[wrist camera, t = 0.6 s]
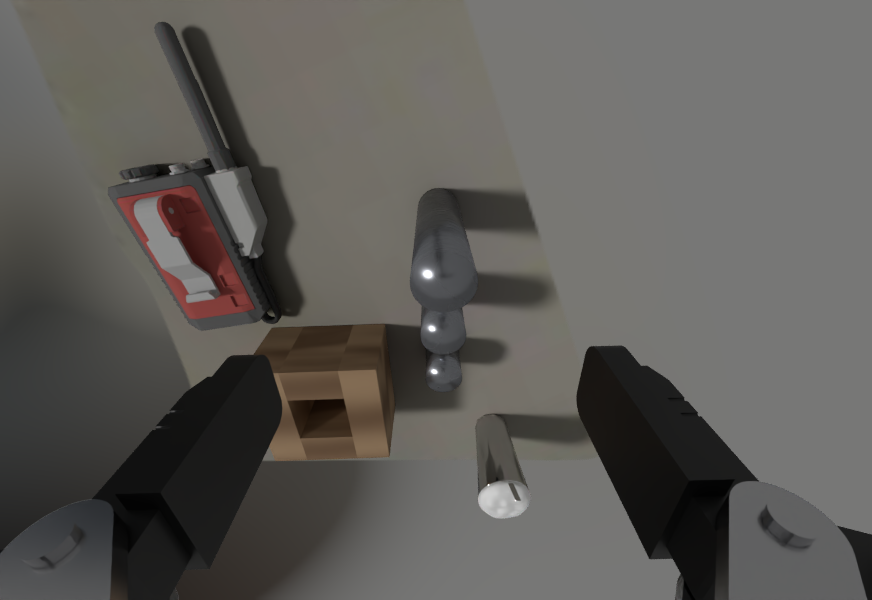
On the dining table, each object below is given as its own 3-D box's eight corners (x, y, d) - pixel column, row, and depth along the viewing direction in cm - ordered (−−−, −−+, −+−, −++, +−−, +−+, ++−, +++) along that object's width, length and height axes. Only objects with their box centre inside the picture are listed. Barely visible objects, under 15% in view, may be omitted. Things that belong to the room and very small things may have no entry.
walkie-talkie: (309, 309, 30) (193, 22, 20) (292, 339, 27) (139, 5, 17) (214, 323, 31) (57, 51, 21) (184, 355, 27) (-26, 41, 17)
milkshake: (518, 405, 36) (546, 502, 27) (505, 440, 39) (527, 538, 30) (475, 401, 36) (490, 498, 27) (465, 436, 38) (476, 535, 30)
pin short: (425, 336, 32) (424, 365, 28) (458, 334, 32) (462, 363, 28) (426, 361, 33) (426, 392, 30) (458, 360, 33) (461, 391, 30)
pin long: (416, 188, 25) (407, 253, 15) (458, 187, 25) (478, 250, 15) (419, 229, 27) (412, 313, 16) (458, 227, 27) (477, 311, 16)
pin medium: (421, 271, 28) (419, 318, 22) (458, 269, 28) (466, 316, 22) (423, 302, 30) (421, 354, 24) (458, 301, 30) (465, 353, 24)
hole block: (271, 327, 31) (239, 374, 26) (384, 323, 31) (375, 369, 26) (297, 408, 36) (275, 461, 31) (395, 404, 36) (389, 457, 31)
